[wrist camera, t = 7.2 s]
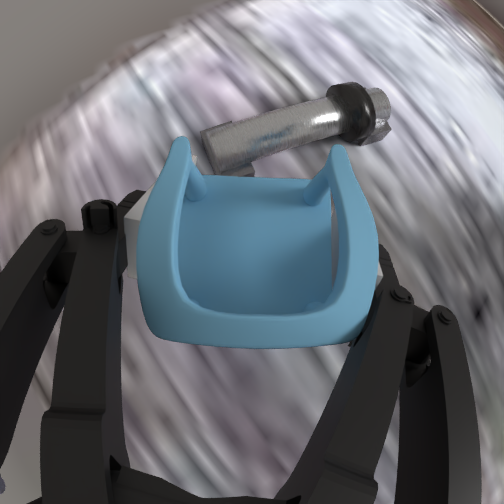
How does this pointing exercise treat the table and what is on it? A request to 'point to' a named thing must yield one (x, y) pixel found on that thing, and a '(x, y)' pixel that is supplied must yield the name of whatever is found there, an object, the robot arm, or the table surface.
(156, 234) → the chair
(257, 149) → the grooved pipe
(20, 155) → the table surface
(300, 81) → the table surface
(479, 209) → the table surface
